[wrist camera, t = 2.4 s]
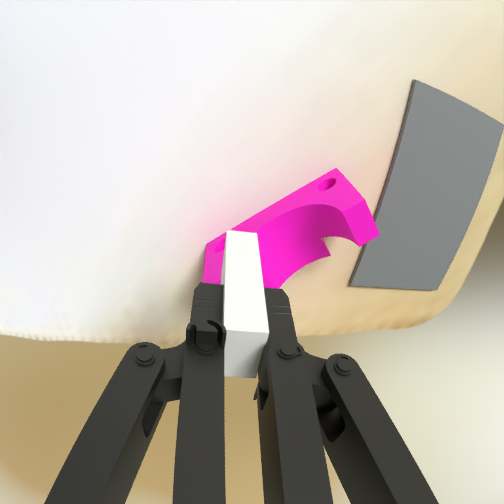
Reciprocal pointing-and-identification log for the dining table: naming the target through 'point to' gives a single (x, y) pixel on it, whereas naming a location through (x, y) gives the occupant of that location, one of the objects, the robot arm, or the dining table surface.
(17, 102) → the dining table surface
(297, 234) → the magenta bearing cap
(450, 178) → the pad
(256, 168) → the dining table surface
